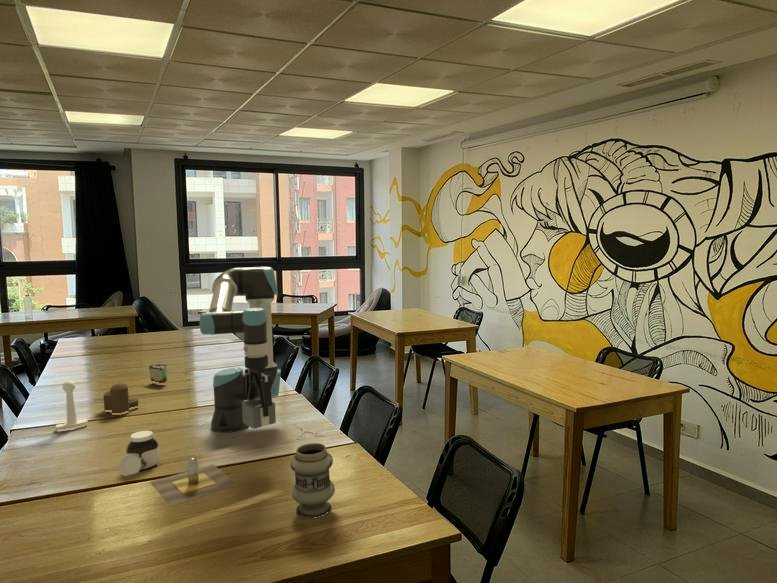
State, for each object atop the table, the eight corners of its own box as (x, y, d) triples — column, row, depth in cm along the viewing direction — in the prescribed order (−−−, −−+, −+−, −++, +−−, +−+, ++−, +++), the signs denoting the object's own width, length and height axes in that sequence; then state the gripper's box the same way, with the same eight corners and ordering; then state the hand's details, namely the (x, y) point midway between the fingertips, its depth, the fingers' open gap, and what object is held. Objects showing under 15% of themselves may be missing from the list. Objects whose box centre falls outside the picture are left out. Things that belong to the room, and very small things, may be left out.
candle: (137, 413, 240) (135, 380, 238) (102, 418, 235) (100, 384, 233) (138, 405, 253) (136, 373, 251) (106, 409, 247) (103, 376, 246)
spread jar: (160, 460, 189) (158, 428, 187) (159, 474, 178) (157, 439, 177) (122, 466, 184) (119, 433, 183) (118, 480, 174) (116, 445, 173)
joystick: (57, 433, 217) (53, 384, 215) (55, 428, 223) (51, 380, 221) (88, 427, 224) (84, 379, 222) (85, 422, 230) (82, 376, 228)
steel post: (187, 483, 168) (185, 458, 167) (196, 480, 170) (195, 455, 169) (190, 486, 165) (189, 461, 165) (200, 483, 167) (198, 458, 166)
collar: (242, 422, 182) (241, 402, 181) (264, 416, 187) (263, 397, 186) (253, 428, 176) (252, 408, 175) (275, 423, 181) (274, 402, 180)
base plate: (150, 486, 169) (150, 481, 169) (213, 468, 182) (212, 463, 181) (171, 511, 154) (170, 505, 153) (238, 489, 166) (237, 484, 166)
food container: (174, 384, 288) (173, 365, 287) (164, 386, 282) (163, 368, 281) (159, 381, 294) (158, 362, 293) (149, 383, 289) (148, 365, 288)
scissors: (299, 441, 204) (284, 424, 222) (299, 443, 204) (284, 426, 222) (325, 436, 208) (309, 420, 226) (325, 438, 209) (309, 421, 226)
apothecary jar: (283, 510, 153) (281, 448, 151) (317, 495, 162) (315, 436, 160) (309, 525, 145) (306, 460, 143) (344, 509, 153) (342, 447, 151)
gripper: (232, 351, 185) (235, 416, 187) (259, 362, 168) (263, 433, 171) (252, 348, 189) (255, 411, 192) (281, 358, 173) (284, 427, 176)
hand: (259, 421), depth 182 cm, fingers closed on collar, 8 cm apart
